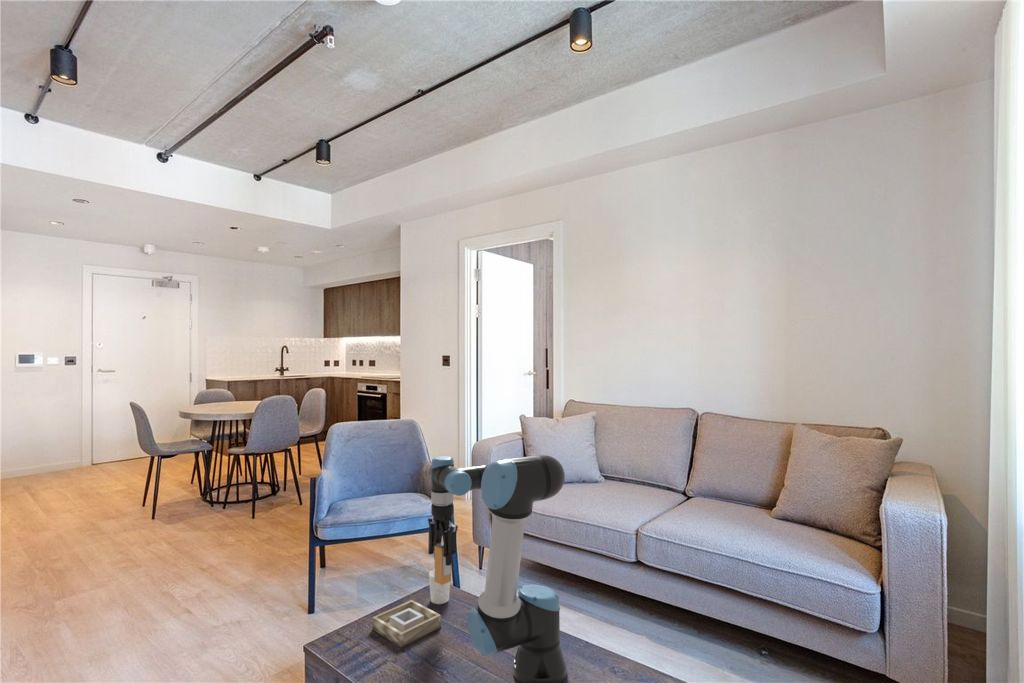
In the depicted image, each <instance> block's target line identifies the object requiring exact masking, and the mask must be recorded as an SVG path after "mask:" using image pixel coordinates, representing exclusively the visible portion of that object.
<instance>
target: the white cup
mask: <svg viewBox="0 0 1024 683" xmlns="http://www.w3.org/2000/svg"><path fill="white" fill-rule="evenodd" d="M428 578H429V581H428V582H429V593H430V603H432V604H435V605H442V604H443V605H444V604H446V603H447V602H449V601H450V592H451V582H448V583H446V584H443V585H441V584H439V583H437V582H435V568H434V569H432V570H430V571H429V574H428Z"/></svg>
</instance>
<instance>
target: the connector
mask: <svg viewBox="0 0 1024 683" xmlns="http://www.w3.org/2000/svg"><path fill="white" fill-rule="evenodd" d="M443 555H445V552H444V544H443V540H442V541H441V542H439V543H437V545H435V560H434V569H435V582H437V583H439V584H441V585H443V584H446V583H448V582H450V583H451V582H452V572H451V573H450V574H448V575H445V576H444V575H443Z"/></svg>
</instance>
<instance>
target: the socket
mask: <svg viewBox="0 0 1024 683" xmlns="http://www.w3.org/2000/svg"><path fill="white" fill-rule="evenodd" d="M408 619H409V620H408ZM406 620H408V621H406ZM404 621H406V622H404ZM422 622H424V615H422V614H420V613H418V612H416V611H415V610H413V609H411V608H408V609H406V610H403V611H401V612H399V613H397V614H395V615H392V616H390V625H391V626H392V627H394V628H396V629H397V630H399V631H401V632H403V631H405V630H407V629H409V628H412V627H414V626H416V625H418V624H420V623H422Z"/></svg>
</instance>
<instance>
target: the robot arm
mask: <svg viewBox="0 0 1024 683" xmlns="http://www.w3.org/2000/svg"><path fill="white" fill-rule="evenodd" d="M454 462H455V461H454V458H453V457H451V456H448V455H444V456H443V455H441V456H436V457H434V458H432V459H431V468H430V470H431V472H430V474H431V476H430V478H431V479H430V480H431V492H430V494H431V495H430V497H431V498H430V499H431V500H430V502H431V511H430V512H431V516H432V517H428V519H427V521H428V530H429V531H428V533H429V548H430V549H431V548H432V550H433V559H434V561H435V545H437V543H439V542H442V541H443V544H444V552H445V555H443V575H444V576H445V575H448V574H450V573H451V574H452V556H454V555H456V553H457V532H458V528H459V527H458V525H457V524H455V525H454V523H453V519H452V516H453V515H454V513H455V511H454V510H455V509H454V505H455V504H454V503H453V502H454V495H455V496H457V497H458V496H459V497H462V496H465V495H466V494H467V493H468V492H469V491H476V490H480V491H481V497H482V501H483V503H484V505H485V506H486V507H487V510H488V512H489V513H490V514H491V515H492V520H491V528H490V538H489V546H488V549H489V550H488V559H487V565H486V566H487V567H486V577H485V585H484V591H483V592H481V593H480V595H479V597H478V599H477V608H472V609H471V610H469V612H468V613H467V626H468V627H467V628H468V632H469V634H470V638H471V640H472V643H473V645H474V647H475V650H477V652H478V653H479V654H480V655H482V657H483V656H484V657H488V656H492V655H497V654H499V653H502V652H504V651H507V650H511V649H512V648H517V650H516V653H515V657H514V660H513V663H512V664H513V665H512V673H513V677H514V678H515V679H516V681H517V682H518V683H562V682H564V681H565V680H566V676H567V663H566V659H565V658H564V655H563V652H562V651H563V650H562V648H561V642H560V641H561V637H560V636H561V630H560V629H561V628H560V624H561V622H560V611H561V607H560V598H559V595H558V593H557V592H556V591H555V590H554V589H552V588H551V587H548V586H545V585H540V584H525V585H522V586H521V587H520V588H519V589H518V584H519V575H520V569H521V568H520V567H521V566H520V565H521V558H522V549H523V541H524V533H525V524H526V519H528V518H529V517H530V516H531V515H532V513H533V507H534V506H533V505H534V502H539V501H544V500H548V499H551V498H554V496H556V495H557V494H559V492H560V491H561V490H562V488H563V486H564V484H565V479H566V475H565V470H564V467H563V465H562V464H561V463H560V461H559V460H557V459H556V458H555V457H553V456H550V455H547V454H546V455H545V454H538V455H537V454H536V455H530V456H524V457H523V456H521V457H515V458H503V459H500V460H495V461H492V462H491V463H490V464H483V465H474V466H466V467H459V468H457V467H455V466H454V465H455V463H454Z"/></svg>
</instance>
